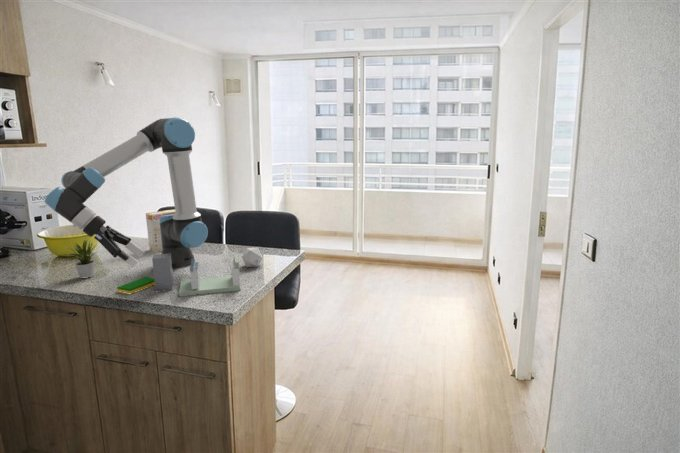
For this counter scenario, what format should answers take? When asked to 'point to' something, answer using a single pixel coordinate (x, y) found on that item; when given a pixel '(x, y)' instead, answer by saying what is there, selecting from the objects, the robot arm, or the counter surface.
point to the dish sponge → (136, 285)
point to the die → (252, 257)
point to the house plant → (83, 259)
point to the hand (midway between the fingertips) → (138, 259)
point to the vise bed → (214, 283)
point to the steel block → (163, 272)
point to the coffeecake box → (155, 229)
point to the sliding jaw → (194, 274)
